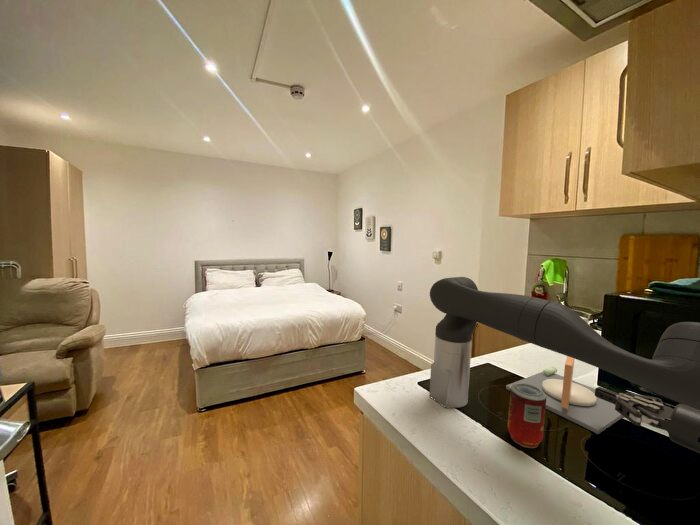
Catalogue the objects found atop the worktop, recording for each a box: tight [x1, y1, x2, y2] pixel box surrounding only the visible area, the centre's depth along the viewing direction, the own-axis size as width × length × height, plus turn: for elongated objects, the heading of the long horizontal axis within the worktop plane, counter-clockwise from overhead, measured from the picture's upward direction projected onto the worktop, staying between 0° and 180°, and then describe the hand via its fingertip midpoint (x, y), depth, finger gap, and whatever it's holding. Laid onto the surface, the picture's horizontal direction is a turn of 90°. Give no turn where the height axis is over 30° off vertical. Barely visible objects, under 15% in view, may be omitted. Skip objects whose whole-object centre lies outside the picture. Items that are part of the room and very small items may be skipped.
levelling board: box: [505, 366, 625, 435], centre depth 81 cm, size 24×22×3 cm
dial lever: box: [542, 356, 596, 409], centre depth 78 cm, size 18×12×12 cm, turn 139°
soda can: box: [507, 383, 546, 449], centre depth 63 cm, size 7×7×12 cm
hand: (596, 391), depth 69 cm, fingers closed
